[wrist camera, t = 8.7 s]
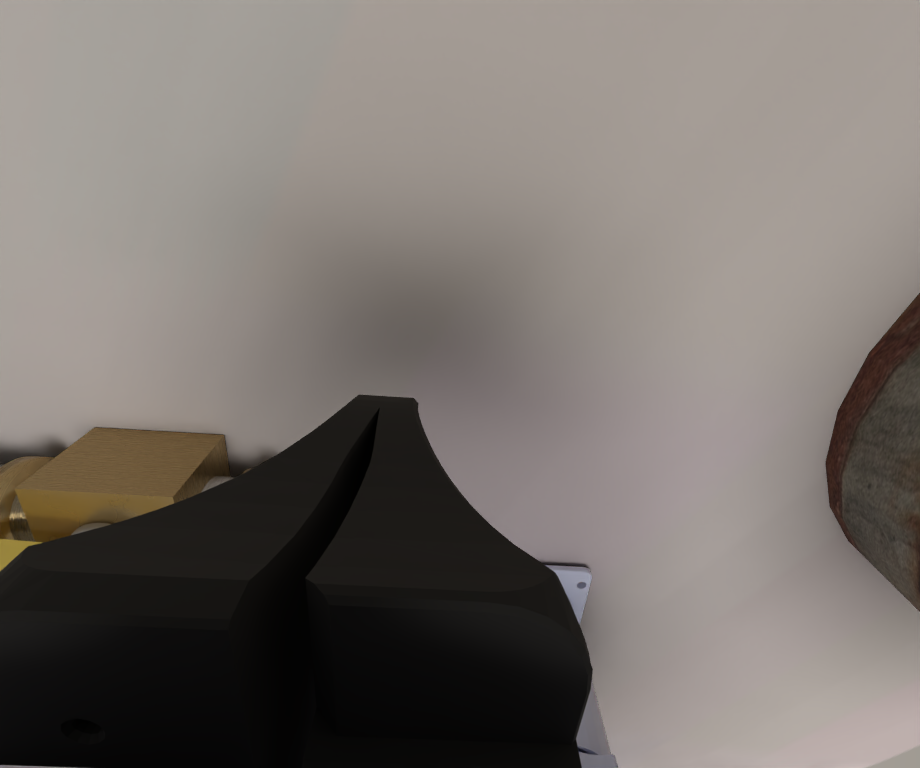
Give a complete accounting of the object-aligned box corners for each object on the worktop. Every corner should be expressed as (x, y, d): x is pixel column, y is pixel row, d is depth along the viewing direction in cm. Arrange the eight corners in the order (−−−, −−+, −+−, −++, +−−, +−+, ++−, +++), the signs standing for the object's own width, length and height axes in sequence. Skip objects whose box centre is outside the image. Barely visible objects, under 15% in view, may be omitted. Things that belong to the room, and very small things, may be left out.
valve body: (392, 444, 23) (378, 508, 19) (391, 539, 26) (378, 613, 22) (-82, 417, 23) (-204, 477, 18) (-35, 518, 25) (-132, 590, 21)
